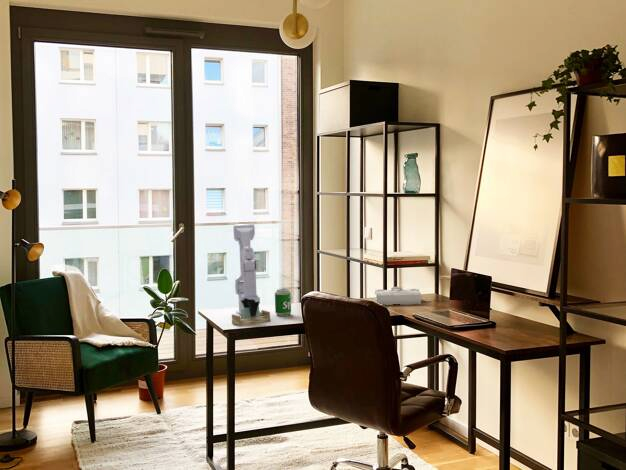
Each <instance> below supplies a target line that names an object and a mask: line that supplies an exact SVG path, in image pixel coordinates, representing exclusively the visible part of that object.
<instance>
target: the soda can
mask: <svg viewBox="0 0 626 470" xmlns="http://www.w3.org/2000/svg"><path fill="white" fill-rule="evenodd" d="M291 295H292V293H291V291H290V290H289V289H285V288H281V289H279V288H278V289H277V290H275V291H274V305H275V306H274V307H275V308H274V309H275V310H274V311H275V312H274V313H275V314H276V315H277V316H278V317H287V316H290V314H291V313H292V297H291Z"/></svg>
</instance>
